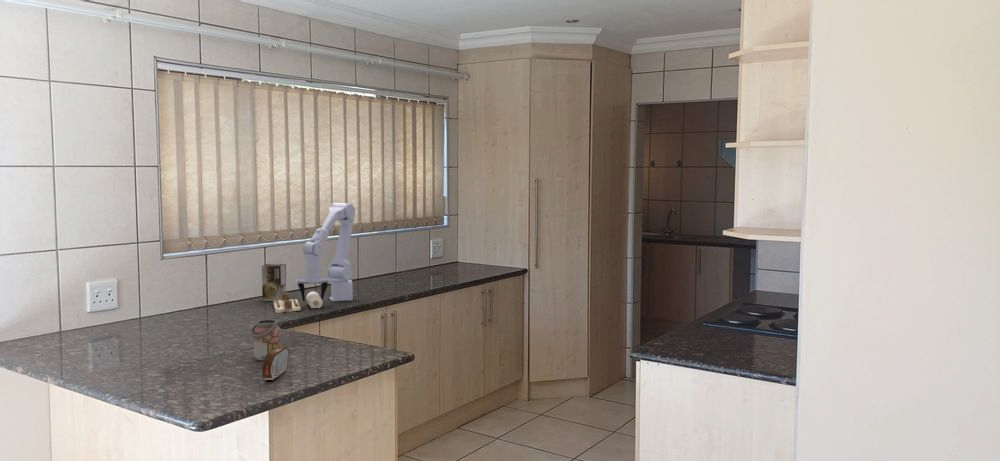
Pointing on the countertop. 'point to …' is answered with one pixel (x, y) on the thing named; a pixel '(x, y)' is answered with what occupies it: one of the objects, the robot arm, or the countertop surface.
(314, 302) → the paper roll
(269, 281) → the coffee box
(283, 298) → the roll holder
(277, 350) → the tin
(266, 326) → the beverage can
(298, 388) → the countertop surface
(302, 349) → the countertop surface
